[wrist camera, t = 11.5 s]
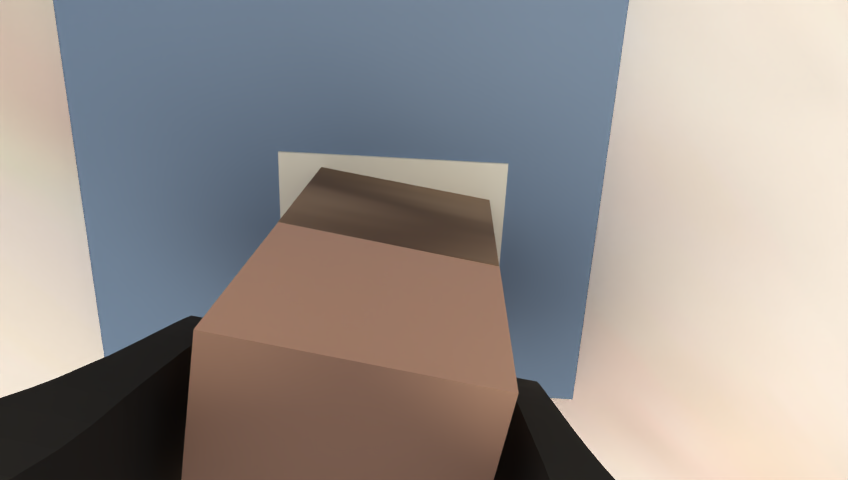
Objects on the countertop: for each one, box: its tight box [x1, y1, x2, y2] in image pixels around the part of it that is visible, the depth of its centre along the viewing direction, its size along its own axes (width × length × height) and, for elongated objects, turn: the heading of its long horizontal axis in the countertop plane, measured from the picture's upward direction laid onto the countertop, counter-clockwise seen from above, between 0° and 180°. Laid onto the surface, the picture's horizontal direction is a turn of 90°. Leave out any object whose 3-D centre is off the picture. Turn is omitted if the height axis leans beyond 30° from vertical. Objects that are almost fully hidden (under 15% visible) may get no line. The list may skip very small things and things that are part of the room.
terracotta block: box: [181, 222, 519, 480], centre depth 12 cm, size 4×4×4 cm
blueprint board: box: [53, 0, 629, 399], centre depth 17 cm, size 18×14×1 cm
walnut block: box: [277, 167, 499, 266], centre depth 16 cm, size 4×4×4 cm
